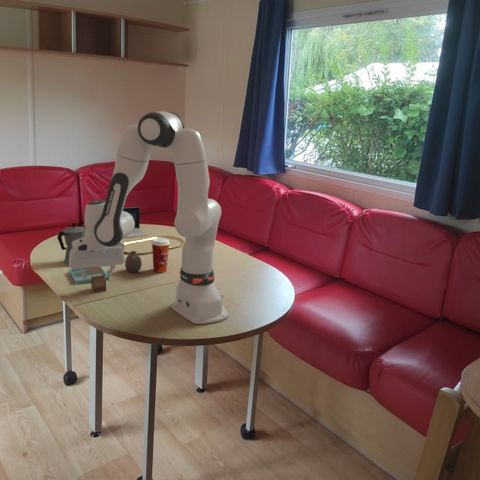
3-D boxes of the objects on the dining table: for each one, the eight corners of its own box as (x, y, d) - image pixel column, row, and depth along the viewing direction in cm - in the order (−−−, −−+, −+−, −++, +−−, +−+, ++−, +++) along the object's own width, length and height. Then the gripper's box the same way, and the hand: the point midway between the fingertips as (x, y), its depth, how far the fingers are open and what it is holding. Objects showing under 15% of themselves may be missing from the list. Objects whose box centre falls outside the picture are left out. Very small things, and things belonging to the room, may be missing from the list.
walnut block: (106, 291, 185) (106, 279, 183) (94, 292, 183) (94, 280, 181) (103, 286, 188) (102, 274, 187) (91, 288, 186) (91, 276, 185)
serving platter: (110, 247, 234) (110, 244, 234) (169, 236, 258) (169, 233, 257) (130, 258, 222) (130, 255, 221) (191, 246, 245) (191, 243, 244)
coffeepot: (79, 256, 219) (78, 218, 214) (94, 260, 215) (93, 221, 209) (51, 265, 206) (49, 224, 201) (67, 270, 202) (65, 229, 196)
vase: (144, 269, 208) (144, 250, 205) (136, 275, 202) (136, 255, 199) (129, 267, 210) (129, 248, 207) (122, 272, 203) (121, 253, 201)
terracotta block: (97, 269, 203) (97, 258, 202) (100, 273, 199) (100, 262, 198) (86, 270, 201) (86, 259, 199) (89, 274, 197) (89, 263, 196)
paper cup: (165, 274, 204) (166, 243, 200) (148, 272, 206) (148, 241, 201) (171, 268, 212) (172, 238, 207) (155, 266, 213) (155, 236, 209)
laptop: (114, 239, 246) (114, 214, 242) (107, 232, 256) (106, 208, 252) (147, 236, 255) (148, 212, 251) (139, 229, 265) (139, 206, 262)
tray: (108, 279, 195) (108, 276, 194) (75, 284, 189) (75, 280, 188) (100, 269, 206) (100, 265, 205) (69, 272, 199) (69, 269, 199)
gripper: (122, 238, 188) (121, 270, 192) (67, 242, 178) (68, 276, 182) (126, 243, 182) (126, 276, 187) (70, 247, 172) (71, 283, 177)
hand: (97, 276), depth 184 cm, fingers open, 8 cm apart
